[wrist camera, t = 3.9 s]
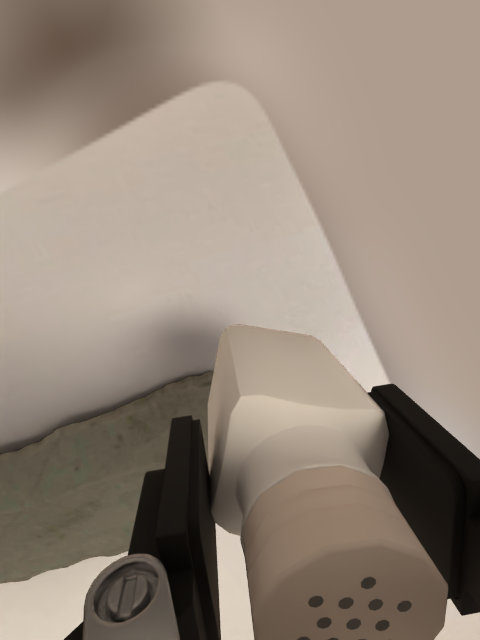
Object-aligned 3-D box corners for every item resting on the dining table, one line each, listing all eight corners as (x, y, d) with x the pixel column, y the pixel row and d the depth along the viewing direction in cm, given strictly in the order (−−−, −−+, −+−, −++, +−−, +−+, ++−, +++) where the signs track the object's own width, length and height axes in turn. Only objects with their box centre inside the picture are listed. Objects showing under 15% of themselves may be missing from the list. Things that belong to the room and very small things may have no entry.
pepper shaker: (222, 317, 14) (254, 509, 5) (322, 332, 15) (514, 531, 6) (205, 410, 15) (205, 710, 6) (299, 421, 16) (429, 712, 7)
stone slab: (278, 476, 26) (230, 356, 22) (287, 509, 23) (236, 381, 19) (-23, 583, 26) (-123, 484, 22) (-46, 628, 23) (-164, 525, 19)
